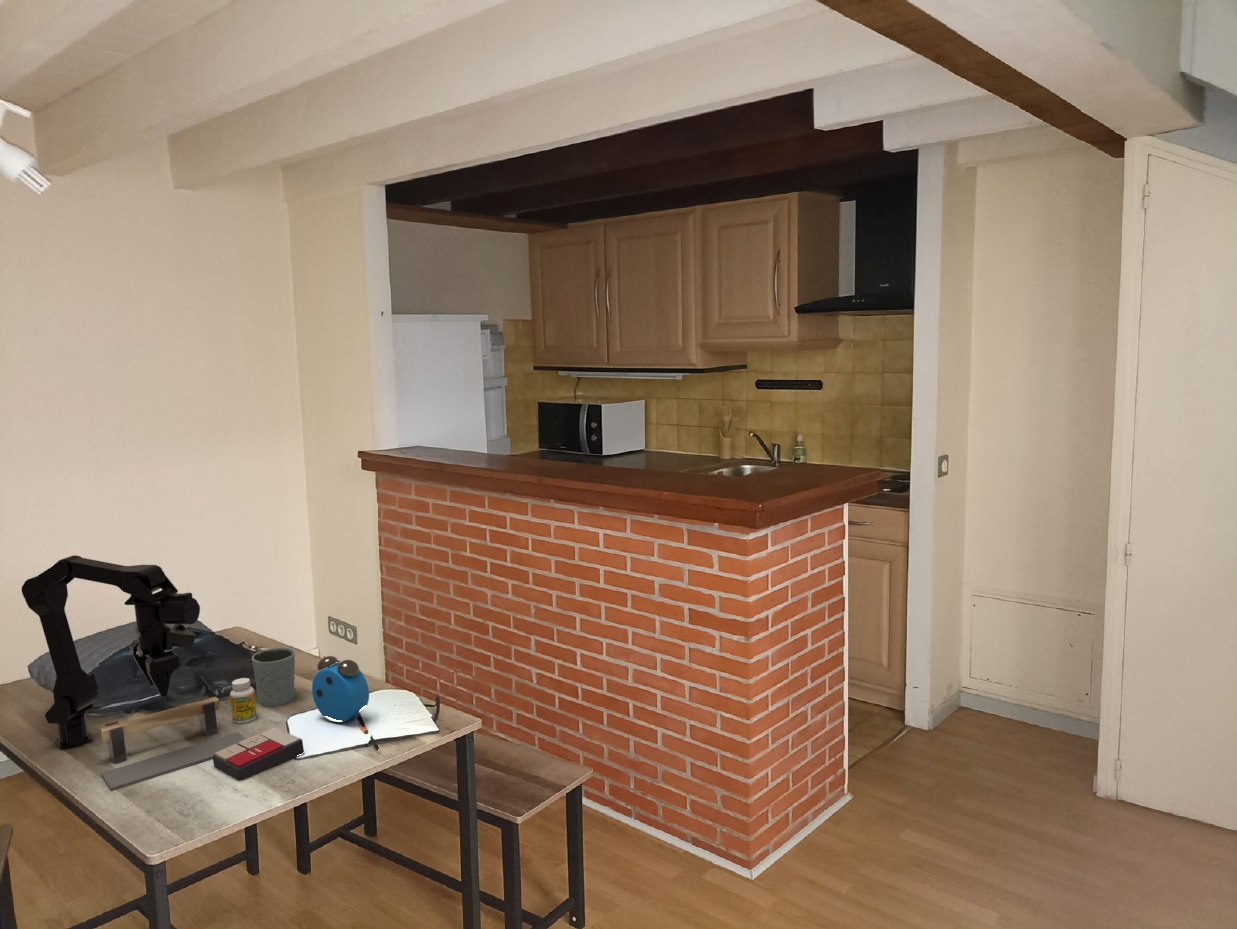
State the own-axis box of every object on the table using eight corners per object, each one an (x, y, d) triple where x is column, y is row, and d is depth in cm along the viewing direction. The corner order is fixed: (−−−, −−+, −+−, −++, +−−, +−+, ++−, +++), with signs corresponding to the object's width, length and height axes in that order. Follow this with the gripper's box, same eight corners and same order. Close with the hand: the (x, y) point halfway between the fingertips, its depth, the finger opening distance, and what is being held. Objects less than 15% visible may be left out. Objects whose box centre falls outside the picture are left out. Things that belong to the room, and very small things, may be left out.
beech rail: (101, 738, 198) (99, 728, 197) (216, 706, 213) (215, 696, 213) (103, 742, 196) (102, 731, 195) (219, 709, 211) (218, 699, 211)
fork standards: (109, 756, 200) (105, 724, 199) (211, 726, 214) (207, 696, 213) (114, 764, 196) (110, 731, 195) (217, 733, 210) (214, 702, 209)
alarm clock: (372, 719, 215) (367, 658, 213) (352, 729, 209) (347, 667, 207) (332, 709, 221) (327, 650, 219) (312, 719, 216) (307, 658, 214)
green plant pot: (269, 691, 234) (264, 647, 232) (306, 692, 232) (302, 647, 231) (248, 708, 224) (243, 661, 222) (286, 709, 223) (282, 662, 221)
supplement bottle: (254, 712, 221) (250, 675, 220) (259, 720, 217) (255, 681, 215) (230, 718, 218) (226, 680, 217) (235, 726, 214) (231, 687, 212)
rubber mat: (101, 775, 191) (101, 772, 191) (238, 734, 209) (237, 731, 209) (111, 790, 184) (110, 788, 184) (251, 746, 202) (251, 744, 202)
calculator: (210, 752, 193) (275, 724, 204) (213, 771, 194) (278, 741, 205) (237, 766, 186) (302, 736, 197) (240, 785, 187) (305, 754, 198)
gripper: (202, 624, 199) (209, 692, 201) (178, 606, 213) (185, 670, 215) (146, 636, 192) (154, 706, 194) (125, 617, 206) (133, 682, 208)
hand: (158, 690), depth 203 cm, fingers open, 9 cm apart
